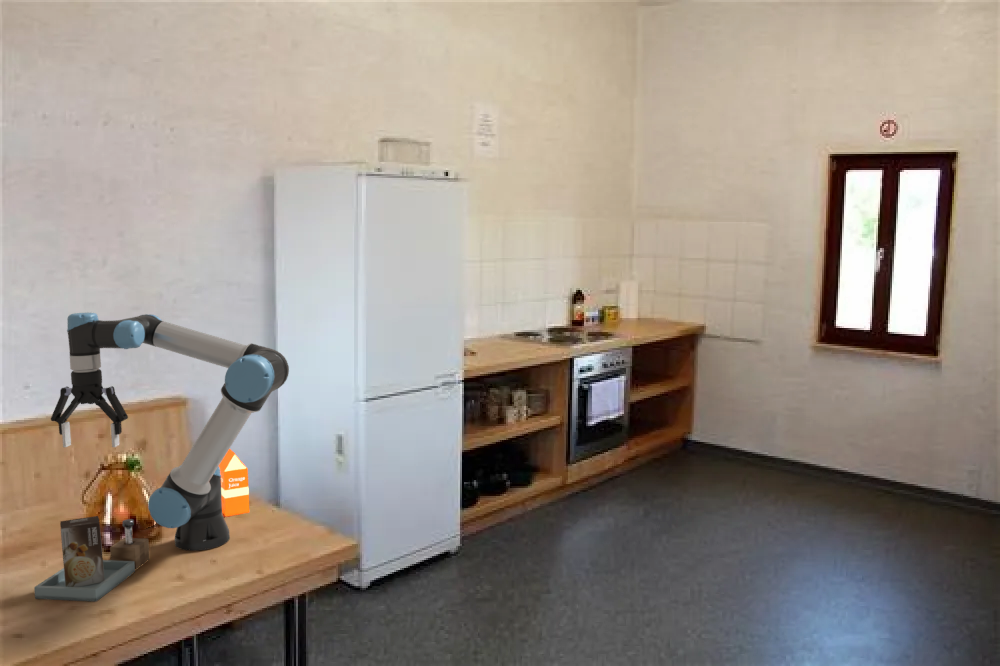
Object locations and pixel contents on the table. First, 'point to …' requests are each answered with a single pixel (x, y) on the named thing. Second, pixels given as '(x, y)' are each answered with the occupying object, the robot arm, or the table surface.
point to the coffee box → (82, 552)
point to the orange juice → (234, 485)
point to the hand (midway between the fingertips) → (91, 446)
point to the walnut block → (131, 551)
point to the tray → (112, 575)
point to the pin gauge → (128, 531)
